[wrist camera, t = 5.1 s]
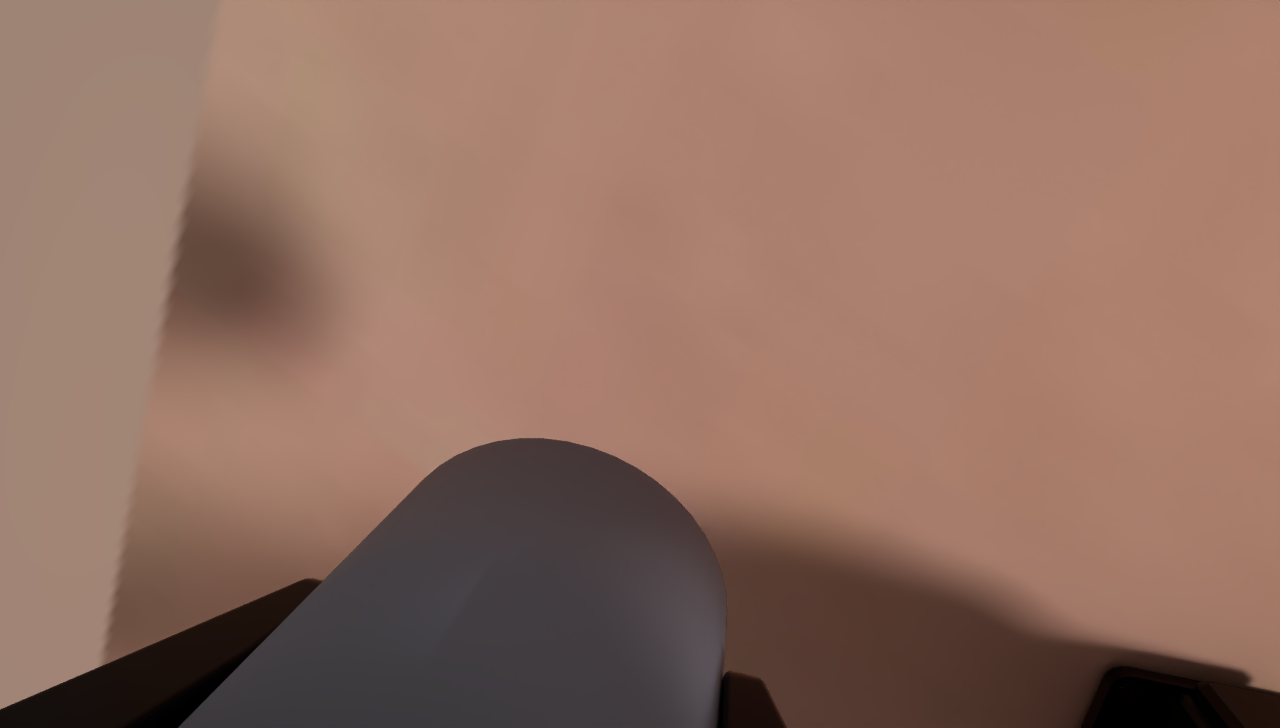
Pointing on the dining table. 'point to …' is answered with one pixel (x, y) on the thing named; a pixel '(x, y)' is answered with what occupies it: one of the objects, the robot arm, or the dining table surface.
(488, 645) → the grey rounded cylinder
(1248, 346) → the dining table surface
